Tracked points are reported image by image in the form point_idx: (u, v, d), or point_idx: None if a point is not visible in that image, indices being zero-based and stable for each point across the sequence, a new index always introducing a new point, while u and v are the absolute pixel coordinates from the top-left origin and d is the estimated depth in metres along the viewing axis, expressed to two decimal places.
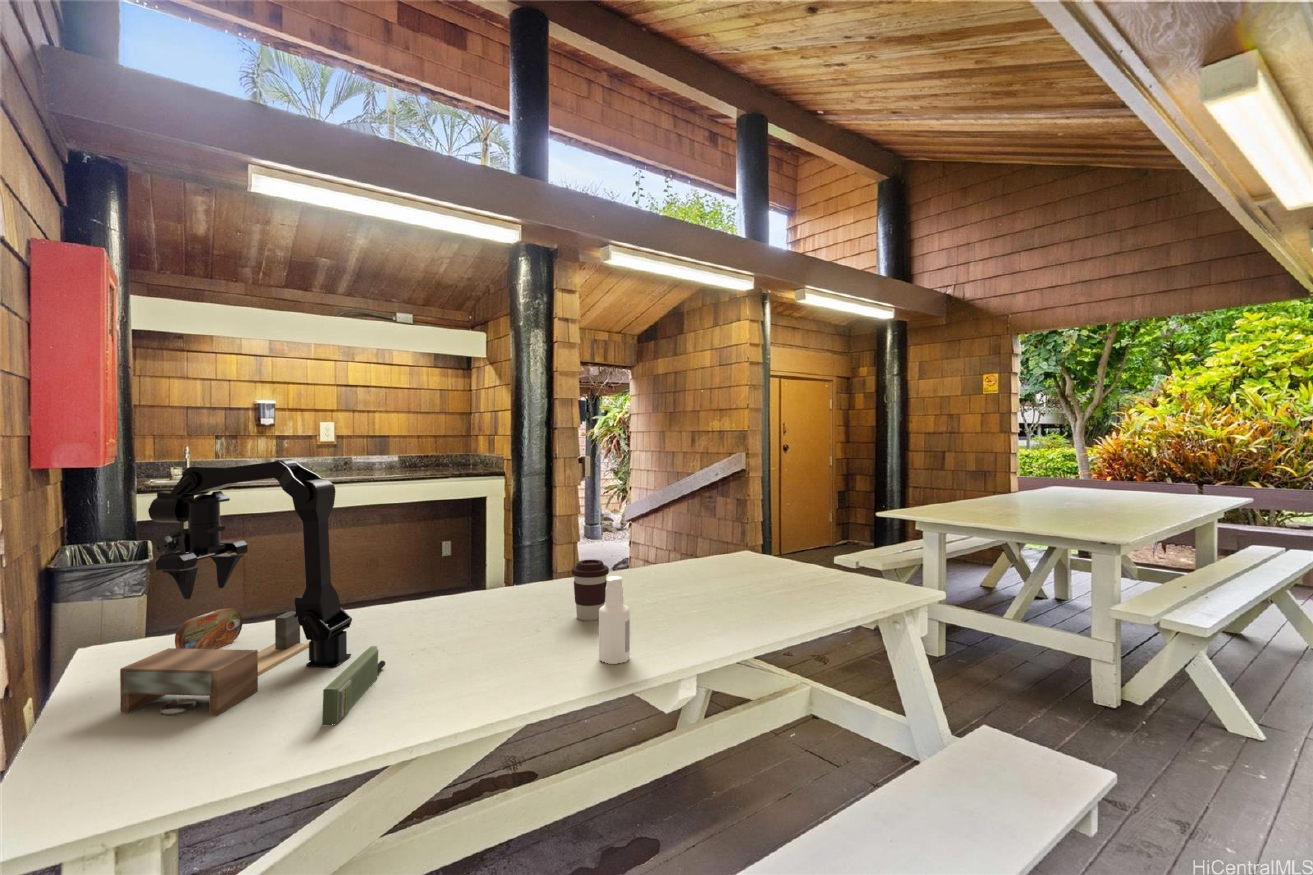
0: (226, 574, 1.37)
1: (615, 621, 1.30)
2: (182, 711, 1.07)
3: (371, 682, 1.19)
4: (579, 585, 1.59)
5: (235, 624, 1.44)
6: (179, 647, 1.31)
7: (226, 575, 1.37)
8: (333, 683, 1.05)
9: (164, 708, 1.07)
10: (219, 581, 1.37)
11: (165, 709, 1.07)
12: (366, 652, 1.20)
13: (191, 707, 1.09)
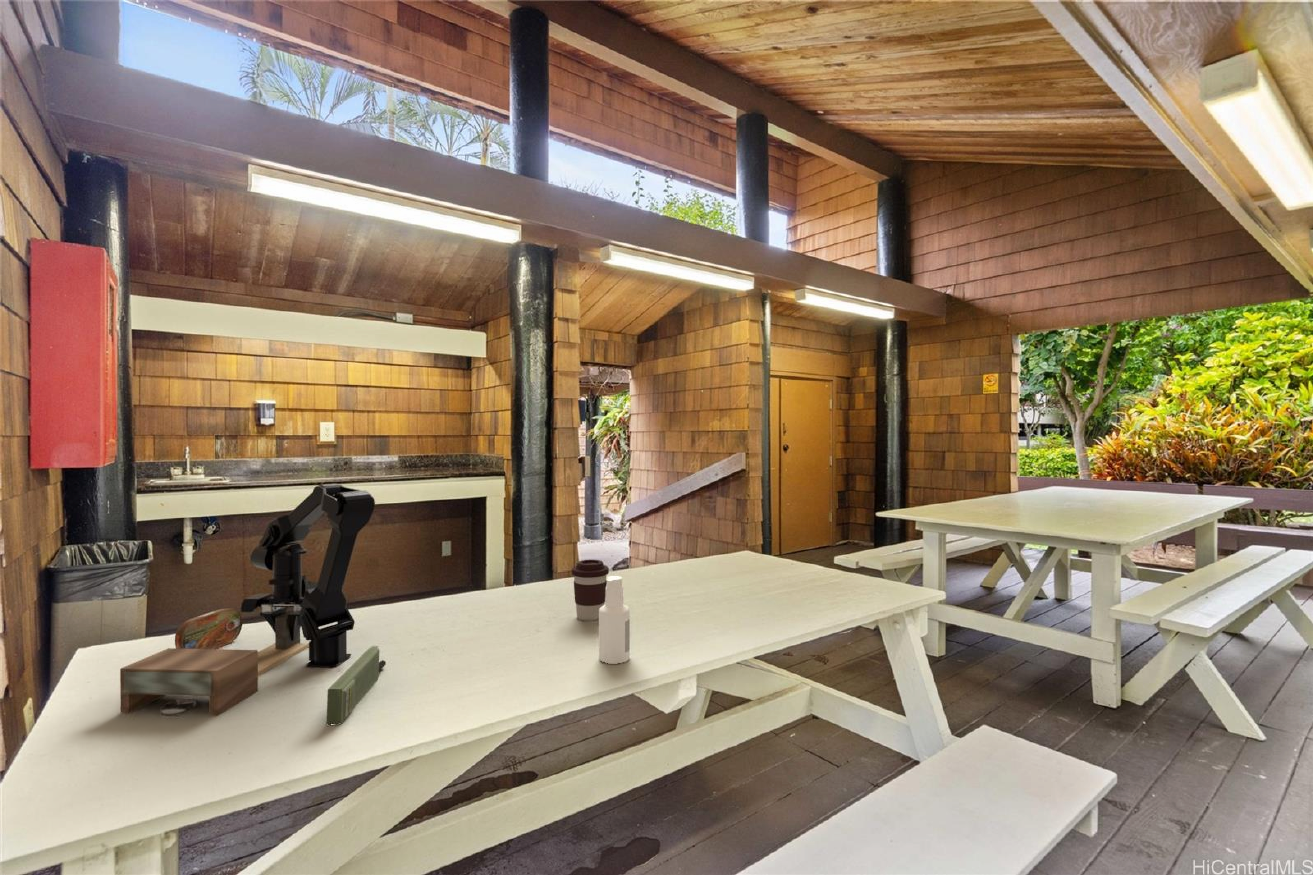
0: None
1: (615, 621, 1.30)
2: (182, 711, 1.07)
3: (373, 682, 1.19)
4: (579, 585, 1.59)
5: (235, 624, 1.44)
6: (179, 647, 1.31)
7: None
8: (337, 683, 1.05)
9: (164, 708, 1.07)
10: None
11: (165, 710, 1.07)
12: (367, 652, 1.20)
13: (191, 707, 1.09)
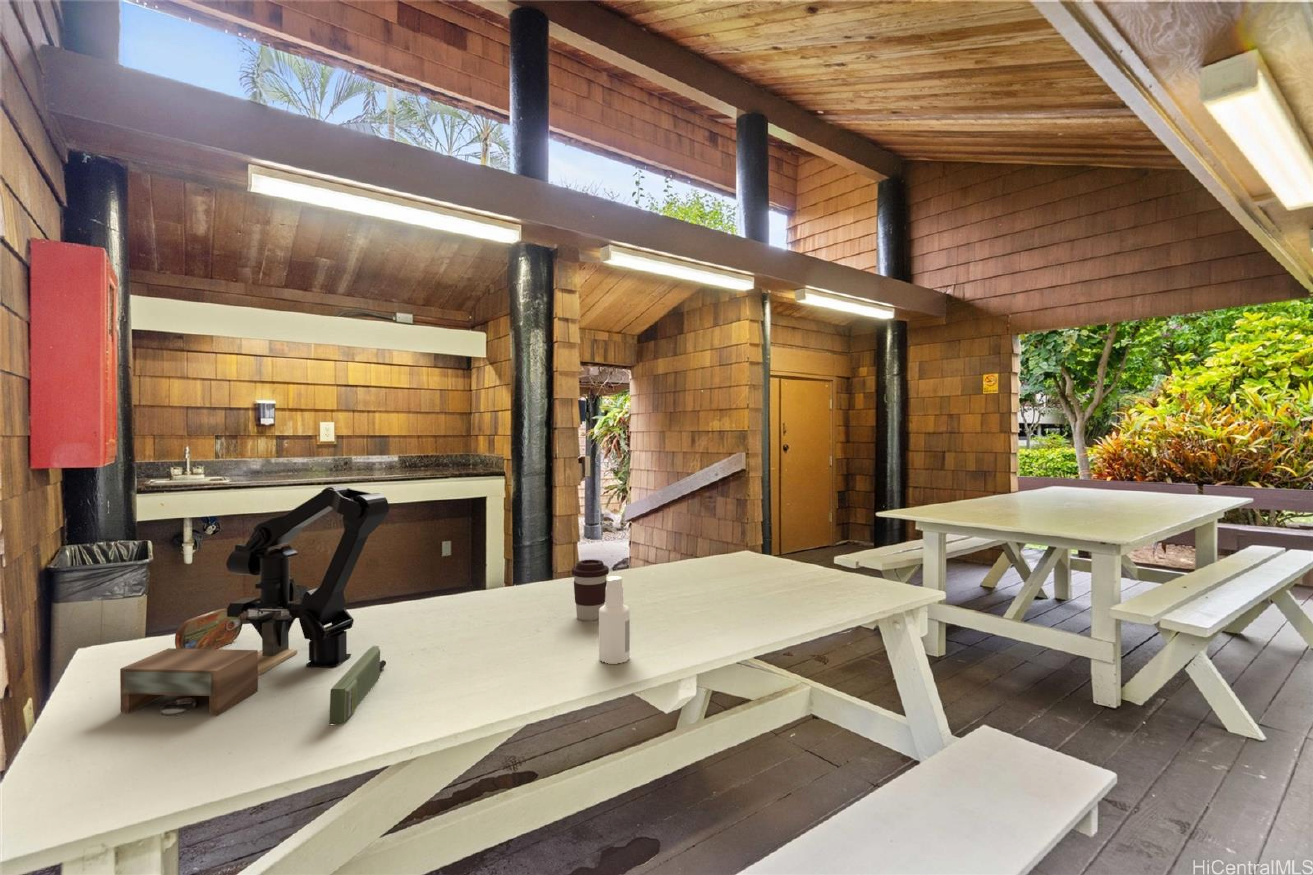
0: None
1: (615, 621, 1.30)
2: (182, 711, 1.07)
3: (374, 682, 1.19)
4: (579, 585, 1.59)
5: (235, 624, 1.44)
6: (179, 647, 1.31)
7: None
8: (340, 683, 1.05)
9: (164, 708, 1.07)
10: None
11: (165, 710, 1.07)
12: (368, 652, 1.20)
13: (191, 707, 1.09)
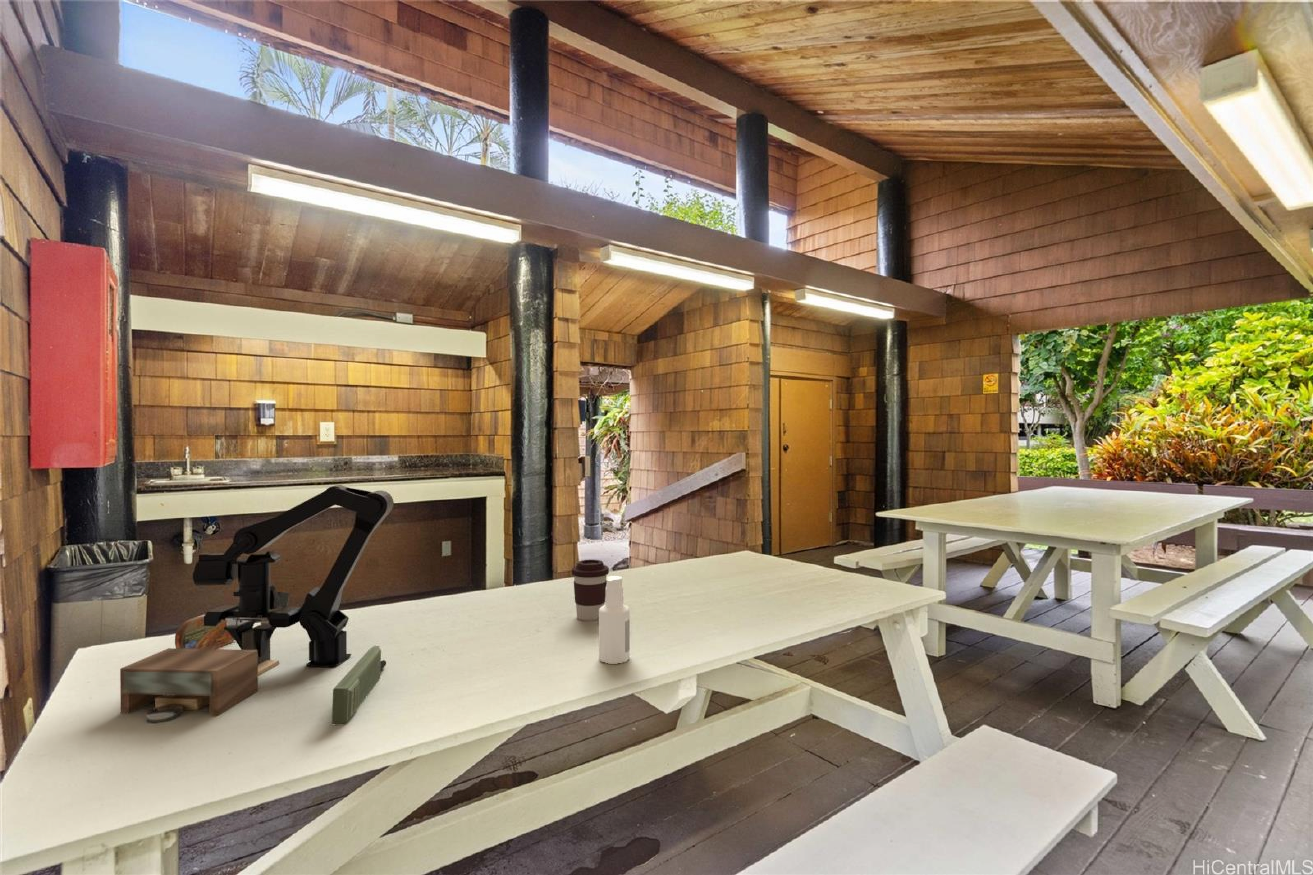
0: None
1: (615, 621, 1.30)
2: (168, 717, 1.05)
3: (375, 681, 1.19)
4: (579, 585, 1.59)
5: None
6: (179, 647, 1.31)
7: None
8: (342, 682, 1.05)
9: (150, 714, 1.05)
10: None
11: (151, 715, 1.04)
12: (369, 652, 1.20)
13: (178, 713, 1.06)
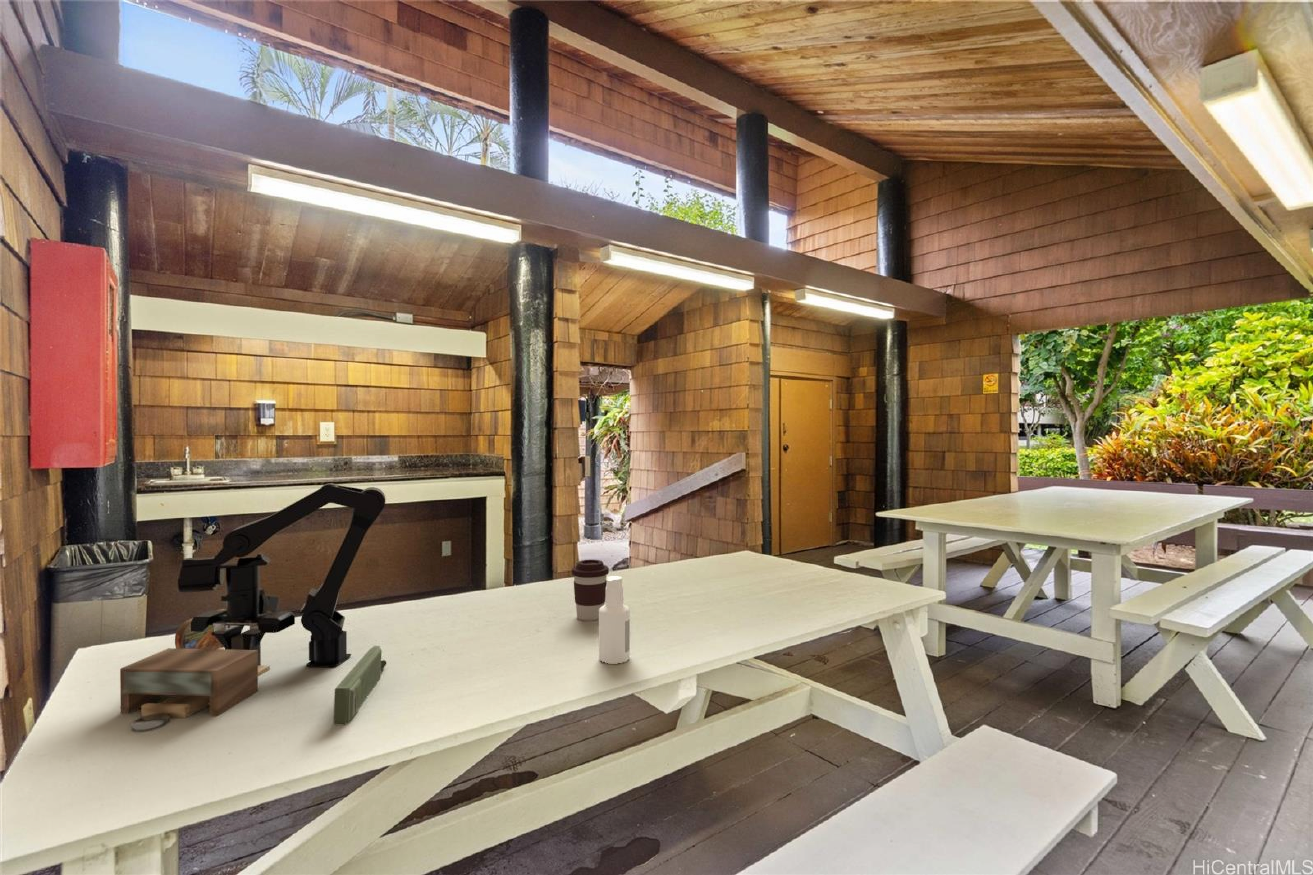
0: None
1: (615, 621, 1.30)
2: (154, 727, 1.02)
3: (375, 681, 1.19)
4: (579, 585, 1.59)
5: None
6: (179, 647, 1.31)
7: None
8: (344, 682, 1.05)
9: (135, 724, 1.02)
10: None
11: (137, 725, 1.01)
12: (370, 652, 1.20)
13: (164, 722, 1.03)
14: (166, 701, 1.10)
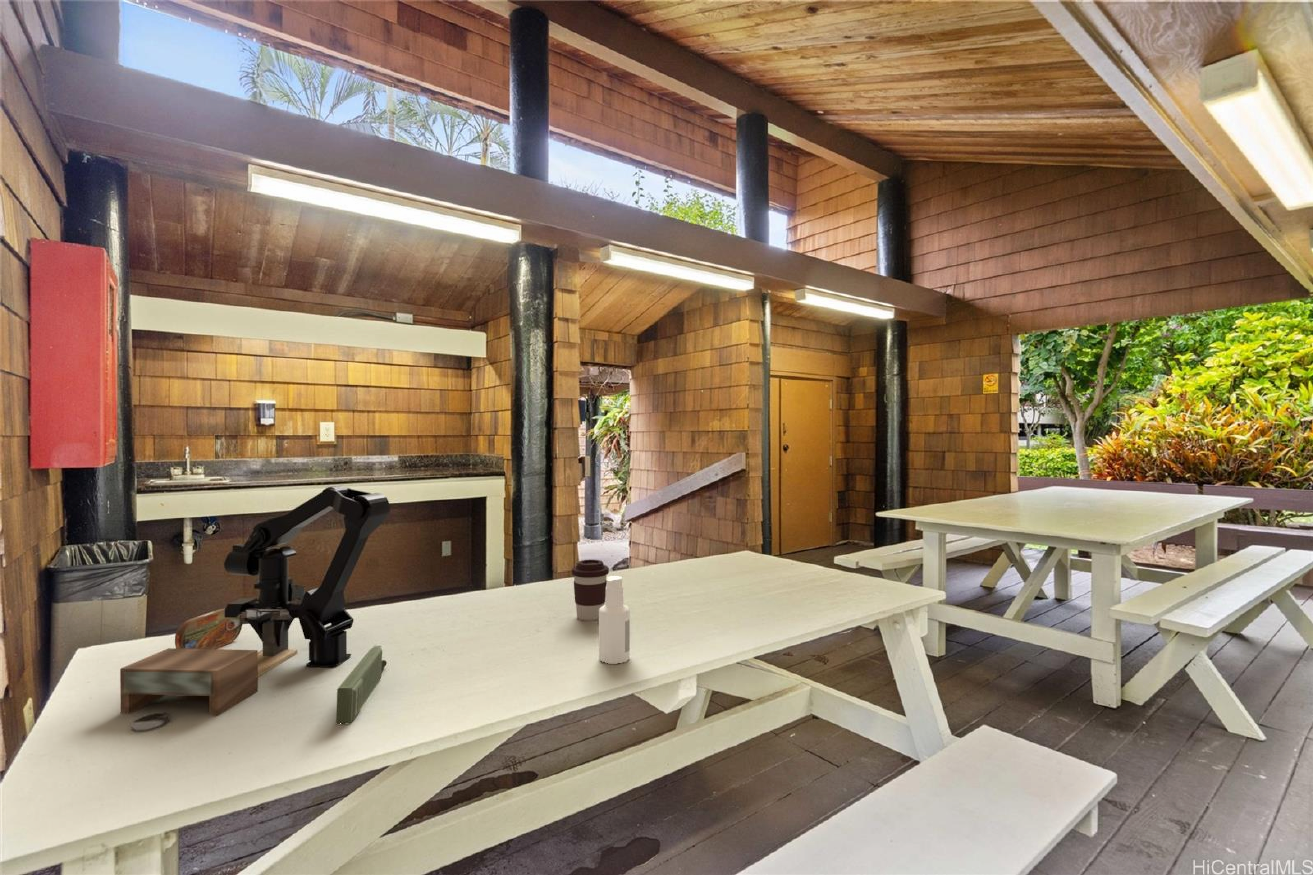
0: None
1: (615, 621, 1.30)
2: (154, 727, 1.02)
3: (376, 681, 1.19)
4: (579, 585, 1.59)
5: (235, 624, 1.44)
6: (179, 647, 1.31)
7: None
8: (346, 682, 1.06)
9: (135, 724, 1.02)
10: None
11: (136, 725, 1.01)
12: (371, 652, 1.20)
13: (164, 722, 1.03)
14: None
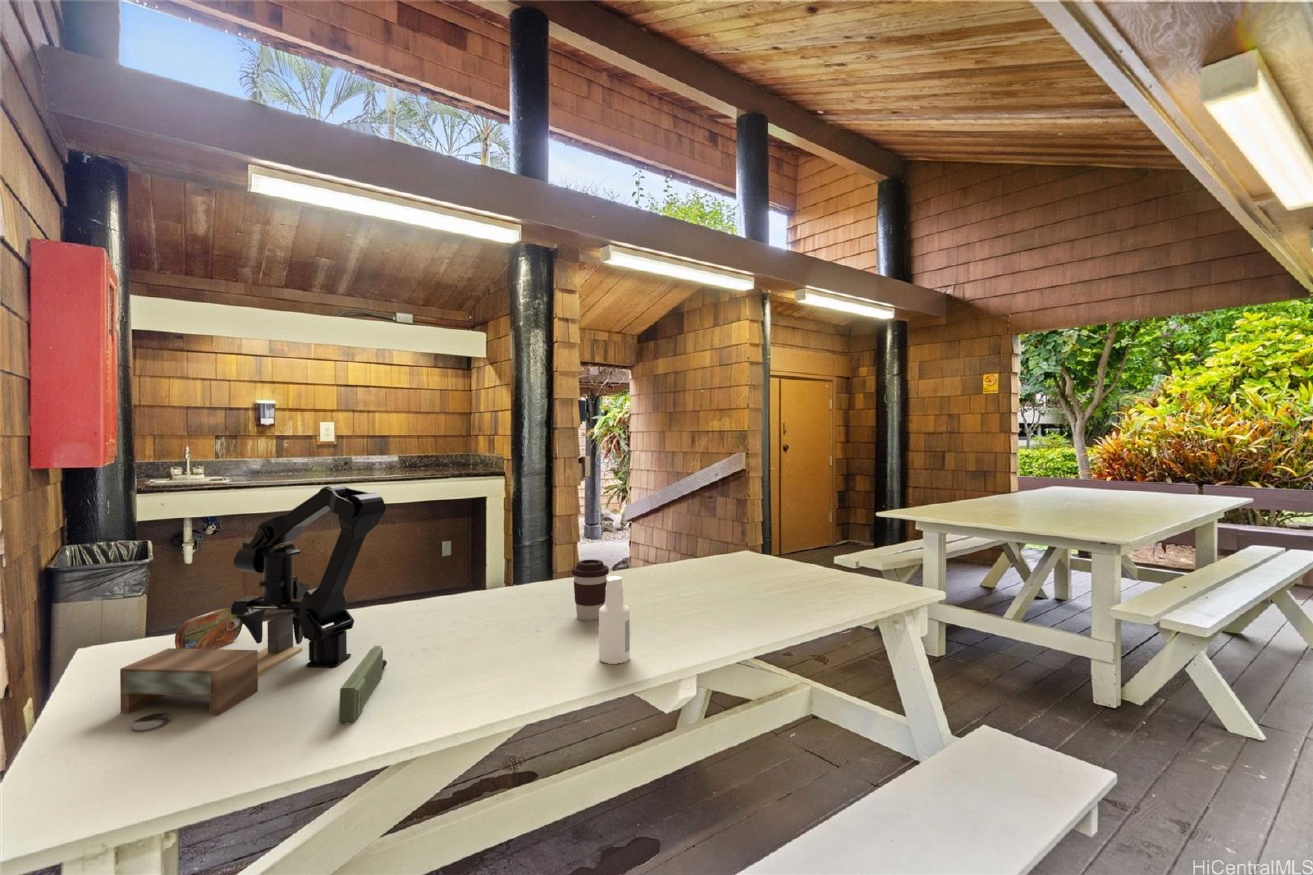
0: None
1: (615, 621, 1.30)
2: (154, 727, 1.02)
3: (377, 681, 1.19)
4: (579, 585, 1.59)
5: (235, 624, 1.44)
6: (179, 647, 1.31)
7: None
8: (348, 682, 1.06)
9: (135, 724, 1.02)
10: None
11: (136, 725, 1.01)
12: (372, 651, 1.20)
13: (164, 722, 1.03)
14: None
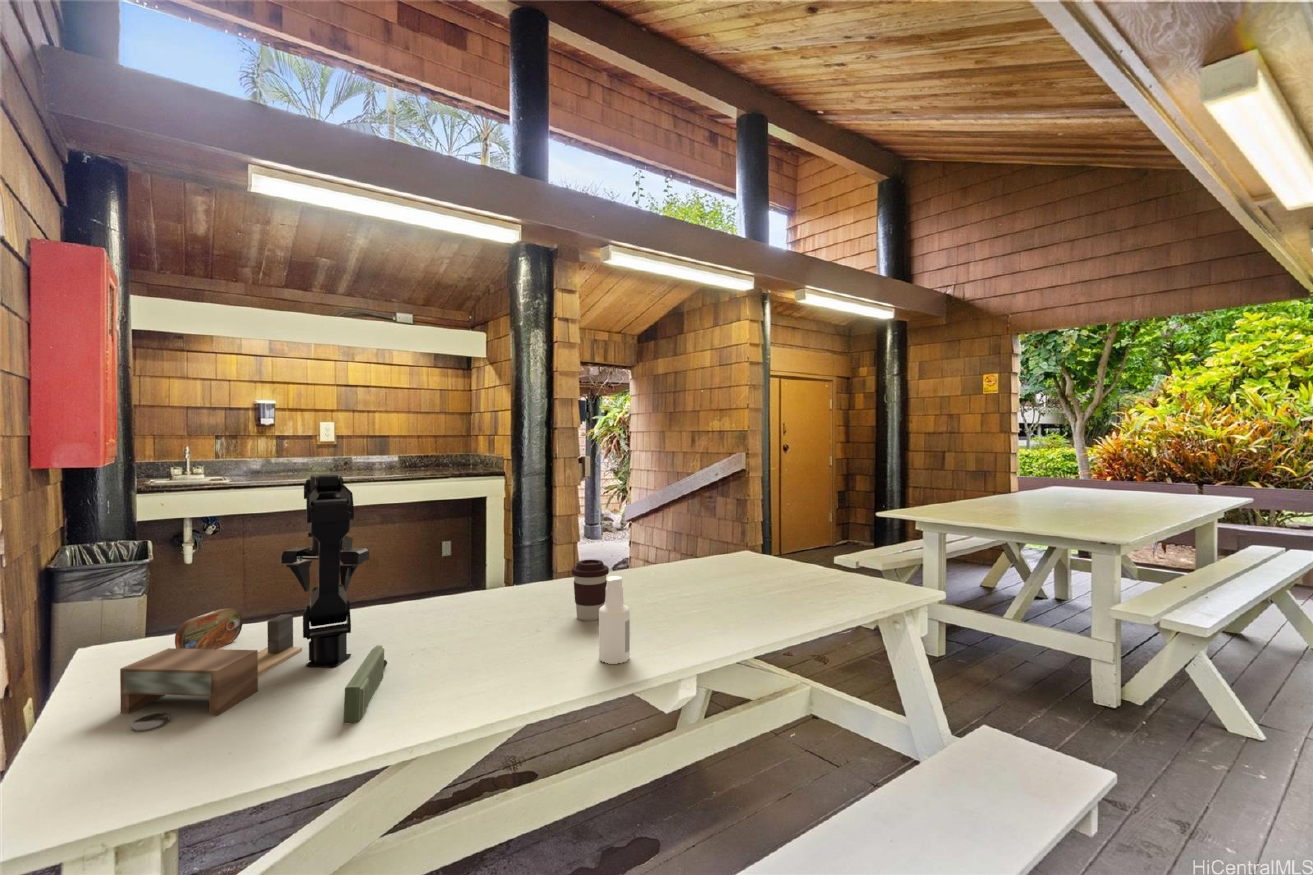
0: None
1: (615, 621, 1.30)
2: (154, 727, 1.02)
3: (379, 681, 1.20)
4: (579, 585, 1.59)
5: (235, 624, 1.44)
6: (179, 647, 1.31)
7: None
8: (353, 681, 1.06)
9: (135, 724, 1.02)
10: None
11: (136, 725, 1.01)
12: (373, 651, 1.20)
13: (164, 722, 1.03)
14: None
